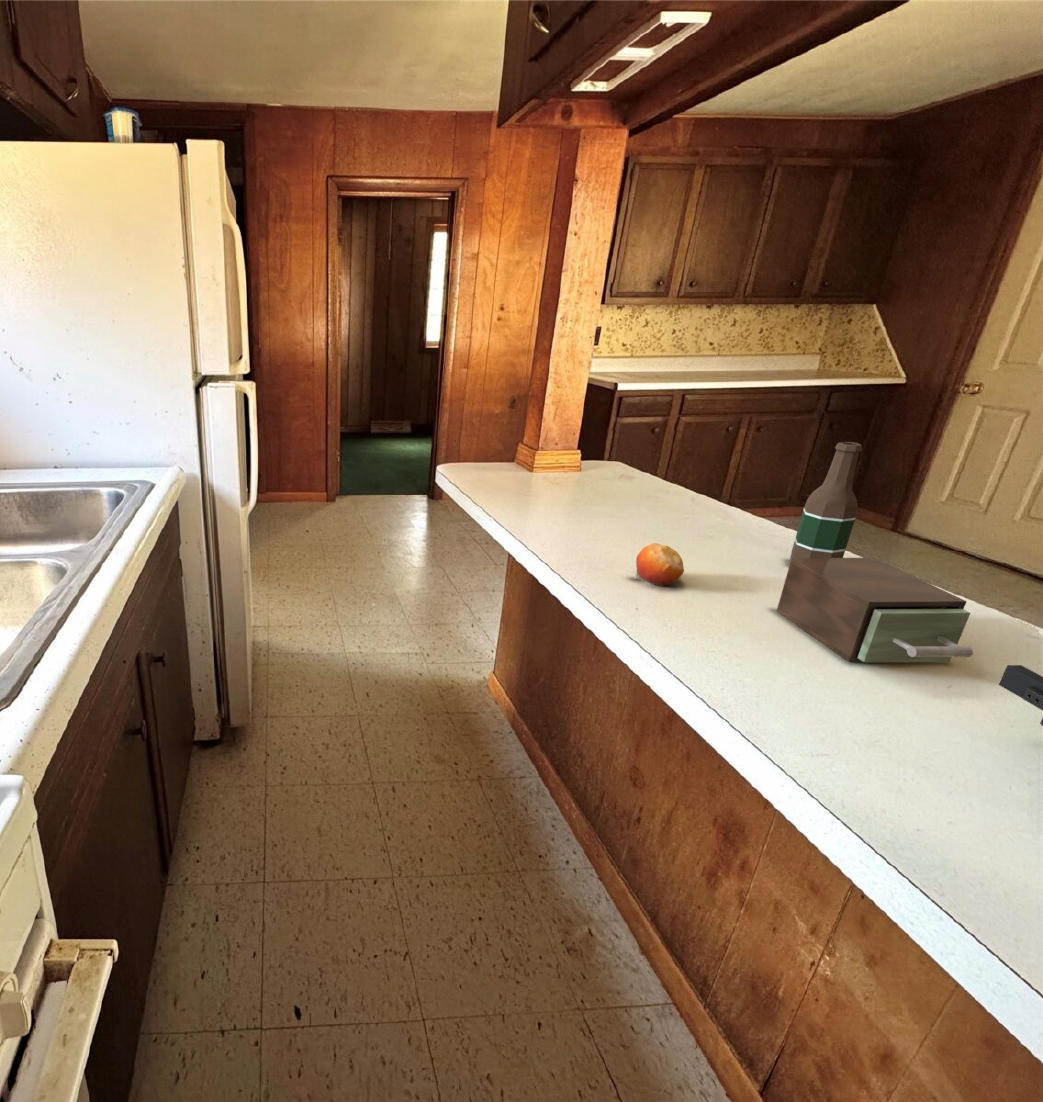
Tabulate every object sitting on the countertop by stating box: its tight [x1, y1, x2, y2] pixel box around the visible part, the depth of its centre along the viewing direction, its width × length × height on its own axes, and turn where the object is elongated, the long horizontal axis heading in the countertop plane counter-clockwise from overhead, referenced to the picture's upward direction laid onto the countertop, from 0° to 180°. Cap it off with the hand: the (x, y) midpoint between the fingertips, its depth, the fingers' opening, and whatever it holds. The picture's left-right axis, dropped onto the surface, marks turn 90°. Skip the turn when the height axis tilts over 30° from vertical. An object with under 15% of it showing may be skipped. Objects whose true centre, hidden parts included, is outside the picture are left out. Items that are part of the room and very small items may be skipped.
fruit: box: [633, 542, 685, 587], centre depth 112 cm, size 8×8×8 cm
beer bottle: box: [789, 441, 863, 561], centre depth 112 cm, size 8×8×24 cm
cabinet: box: [776, 557, 967, 663], centre depth 92 cm, size 16×13×10 cm
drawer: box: [858, 607, 974, 663], centre depth 88 cm, size 19×11×8 cm, turn 177°
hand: (1009, 675), depth 71 cm, fingers closed
